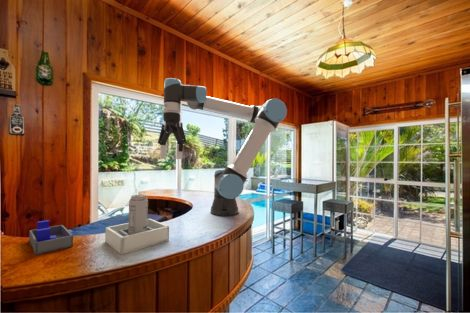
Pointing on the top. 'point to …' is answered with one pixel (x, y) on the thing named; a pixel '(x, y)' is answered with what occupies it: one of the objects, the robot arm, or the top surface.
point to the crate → (136, 236)
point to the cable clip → (44, 231)
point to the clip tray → (61, 241)
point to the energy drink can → (138, 214)
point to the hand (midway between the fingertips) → (170, 158)
